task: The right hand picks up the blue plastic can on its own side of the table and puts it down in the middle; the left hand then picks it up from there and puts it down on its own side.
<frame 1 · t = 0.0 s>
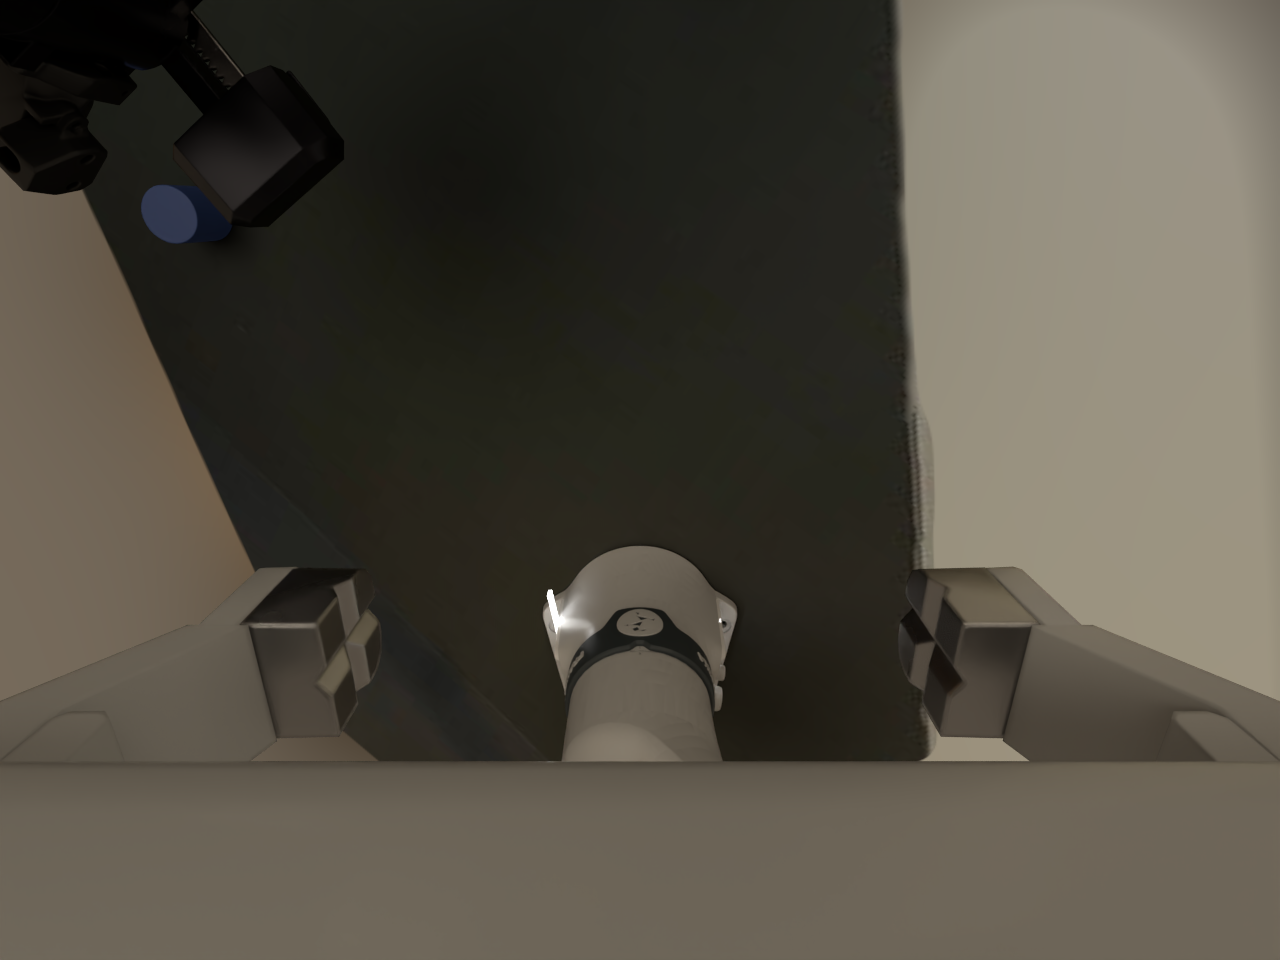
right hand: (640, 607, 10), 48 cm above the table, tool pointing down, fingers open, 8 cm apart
can: (207, 214, 53), on the table
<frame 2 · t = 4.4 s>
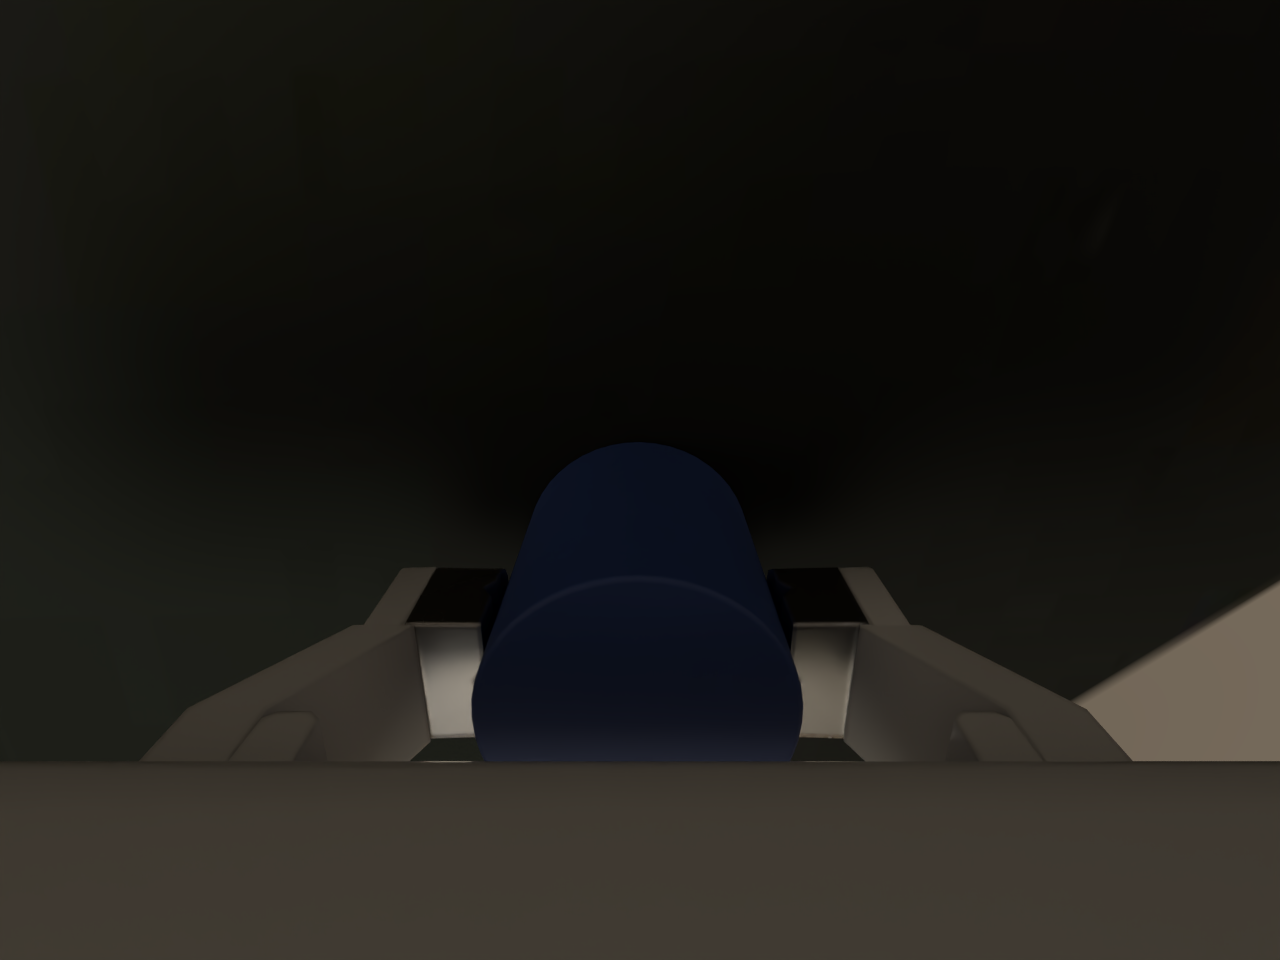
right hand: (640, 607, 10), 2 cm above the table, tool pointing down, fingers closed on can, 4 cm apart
can: (638, 543, 12), on the table, touching right hand
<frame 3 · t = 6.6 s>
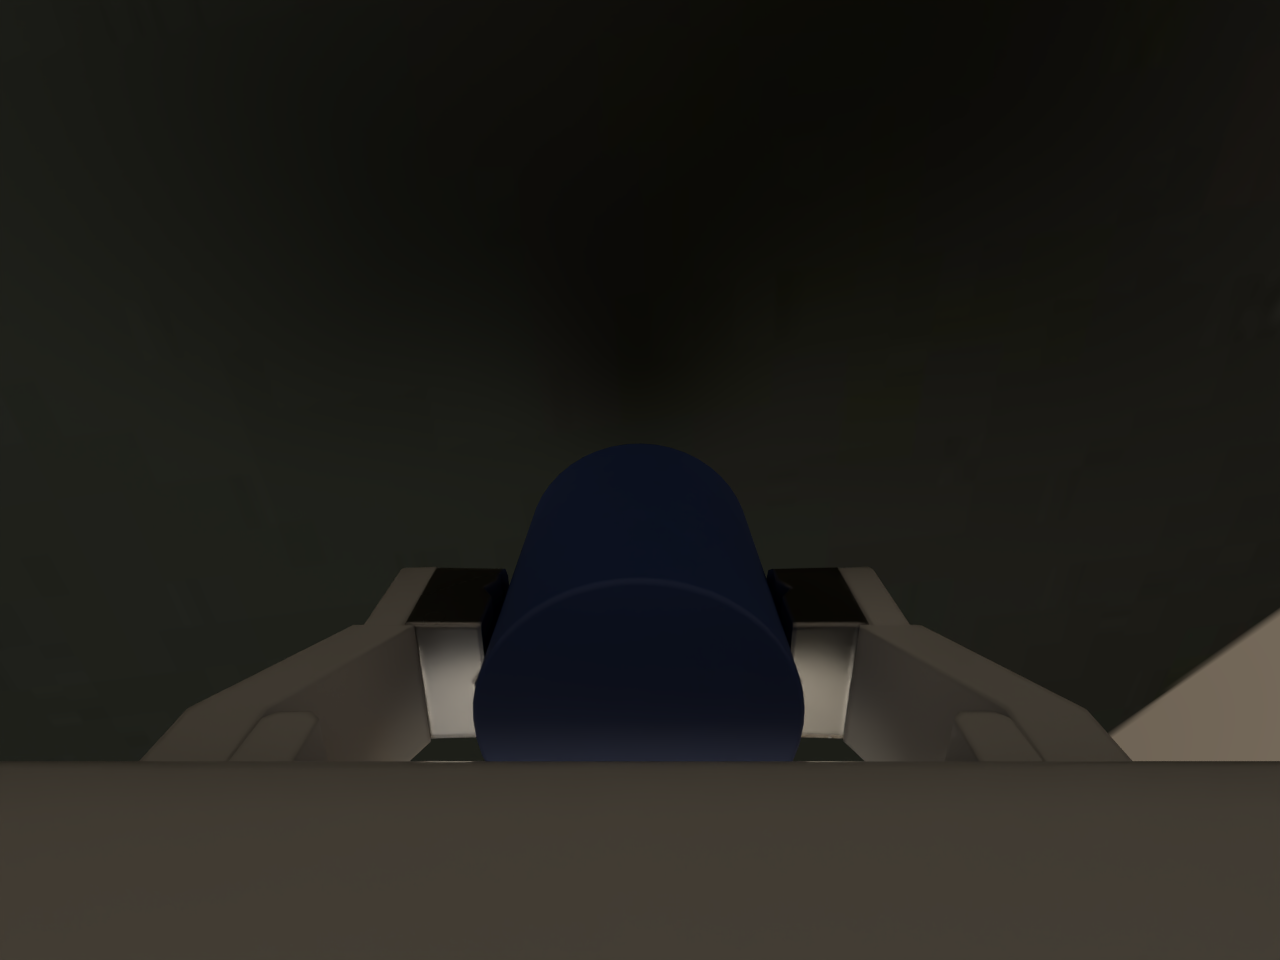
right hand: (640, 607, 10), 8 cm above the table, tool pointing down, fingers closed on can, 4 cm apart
can: (639, 545, 12), point 6 cm above the table, touching right hand
when the right hand's fingers open (3 cm above the table, at t = 8.7 s): can stays where it is, on the table.
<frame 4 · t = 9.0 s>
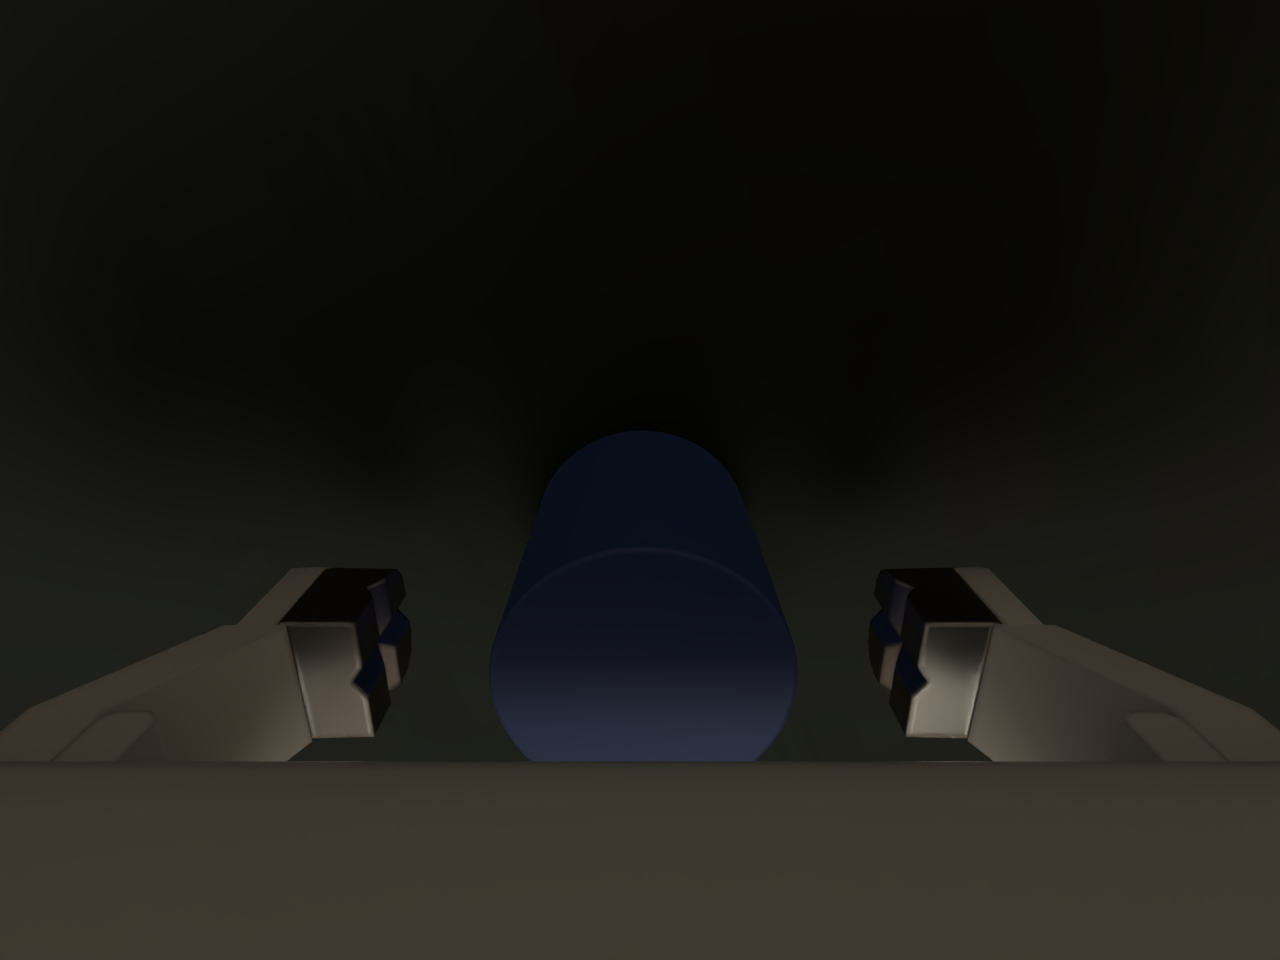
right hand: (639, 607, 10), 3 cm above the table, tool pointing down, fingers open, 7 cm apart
can: (642, 527, 13), on the table
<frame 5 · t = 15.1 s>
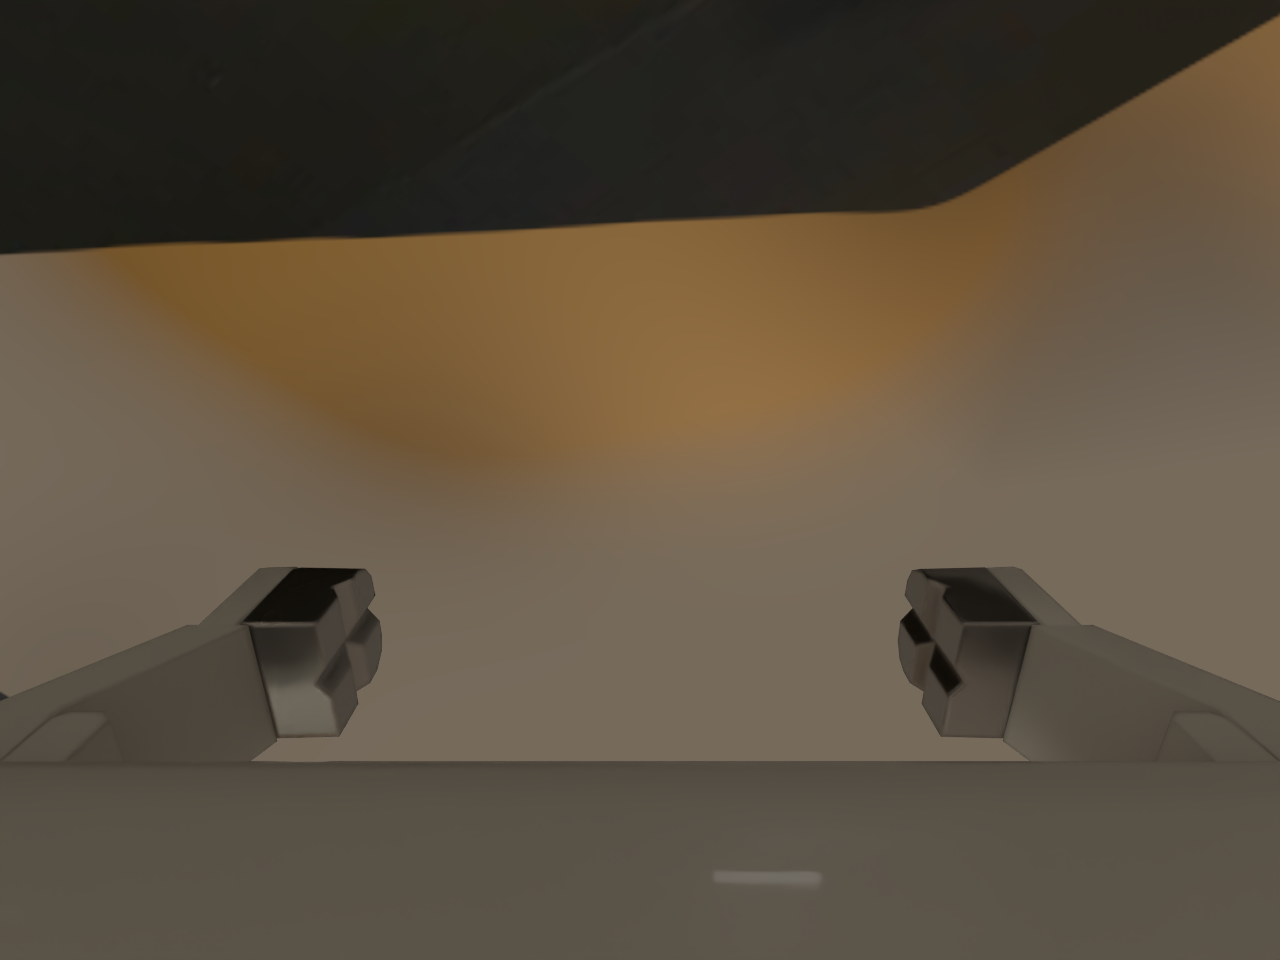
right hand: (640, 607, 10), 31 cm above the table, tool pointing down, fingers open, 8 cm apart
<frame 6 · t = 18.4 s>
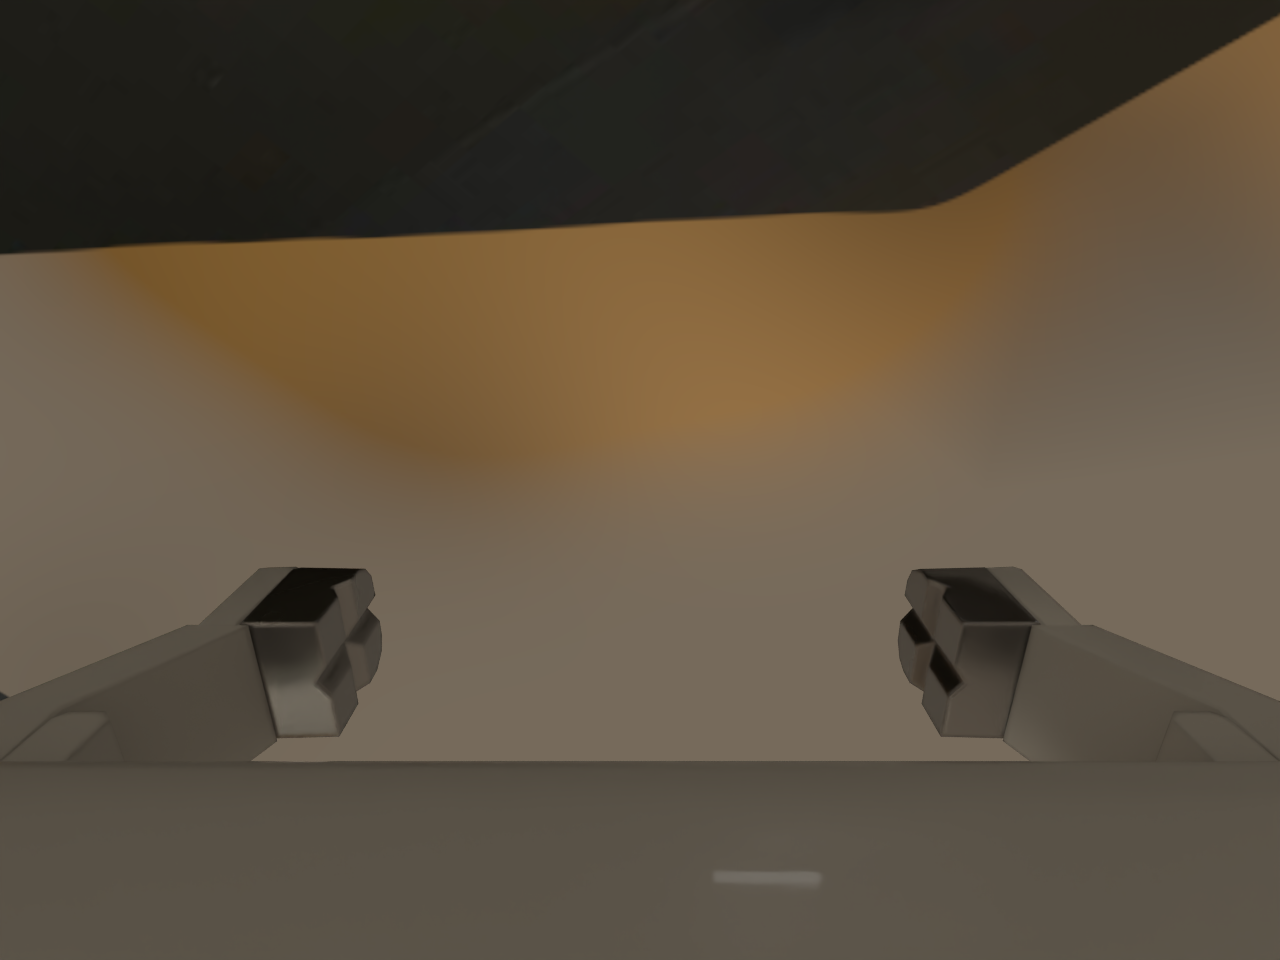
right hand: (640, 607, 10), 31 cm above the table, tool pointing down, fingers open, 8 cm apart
when the left hand's fingers open (2 cm above the table, at t = 21.5 s): can stays where it is, on the table.
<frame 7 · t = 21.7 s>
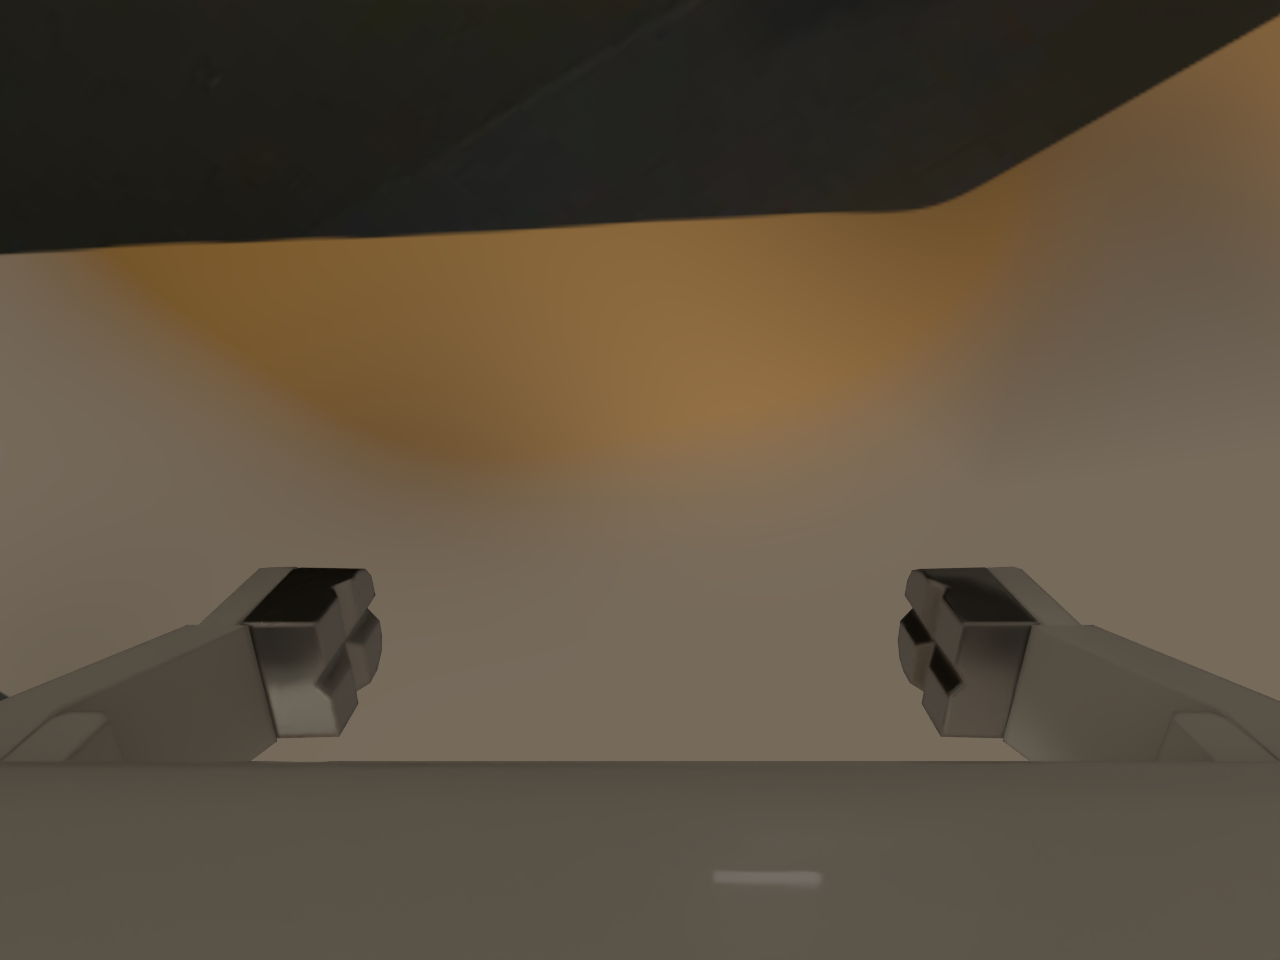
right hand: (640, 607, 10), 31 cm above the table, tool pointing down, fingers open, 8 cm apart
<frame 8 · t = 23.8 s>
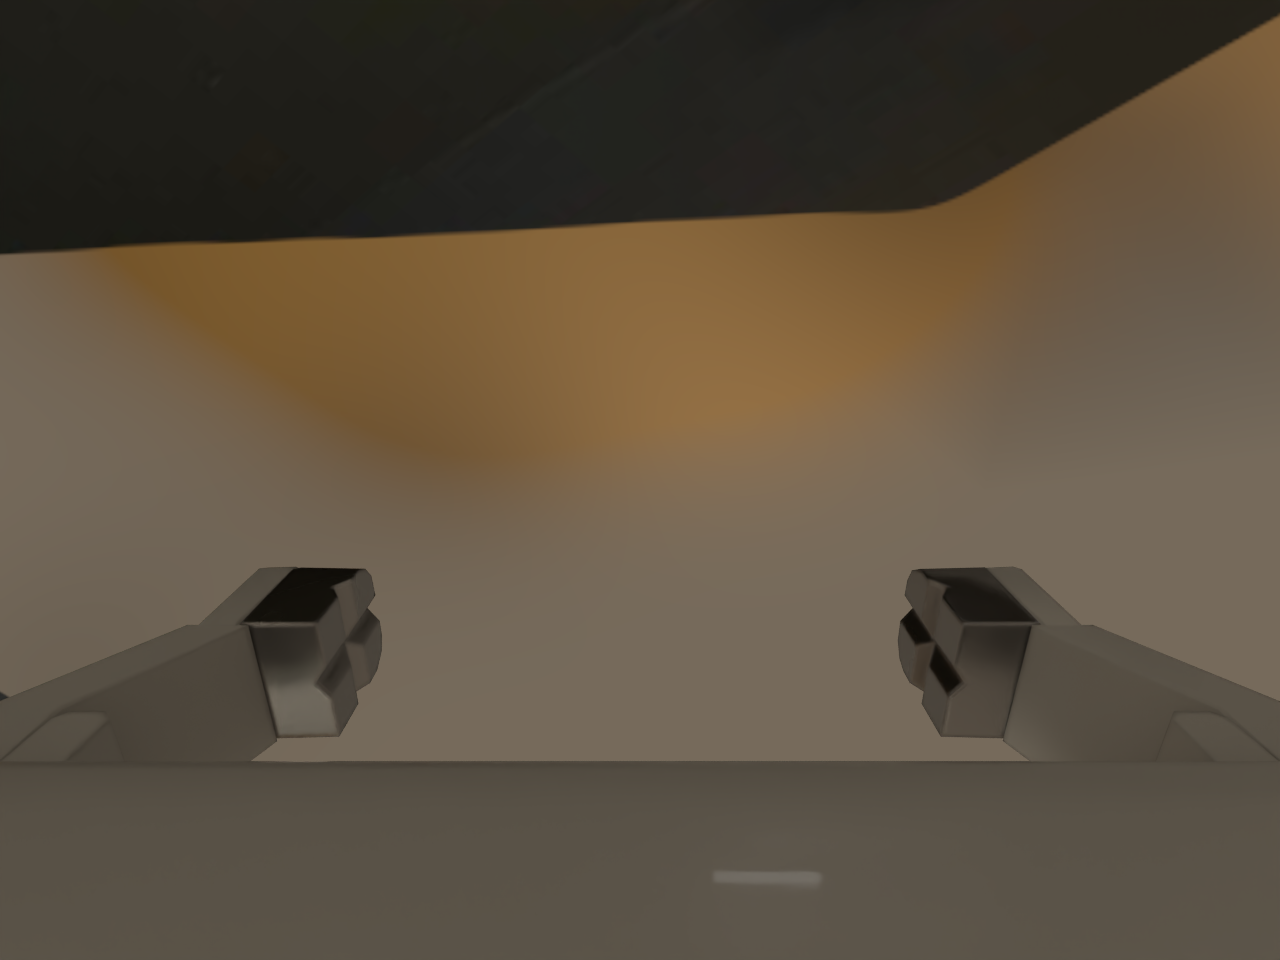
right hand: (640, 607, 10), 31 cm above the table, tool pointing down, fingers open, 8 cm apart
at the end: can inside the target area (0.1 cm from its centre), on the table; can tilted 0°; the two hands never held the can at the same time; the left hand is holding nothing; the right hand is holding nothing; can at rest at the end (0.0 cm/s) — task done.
